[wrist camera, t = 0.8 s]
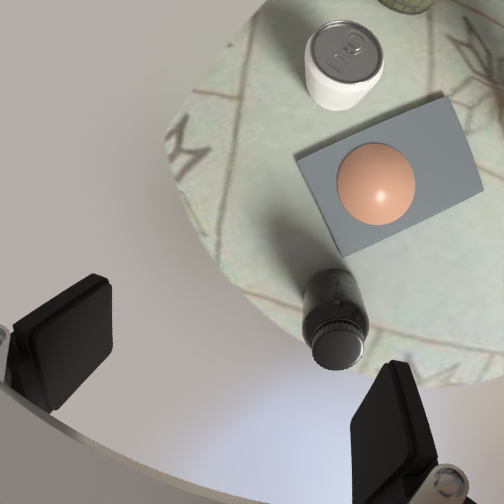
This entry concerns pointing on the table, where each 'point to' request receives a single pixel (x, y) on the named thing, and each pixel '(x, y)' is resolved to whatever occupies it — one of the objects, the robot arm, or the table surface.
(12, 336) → the robot arm
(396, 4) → the thermos
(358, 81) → the can
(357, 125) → the table surface
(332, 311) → the supplement bottle
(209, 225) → the table surface
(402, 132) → the card
